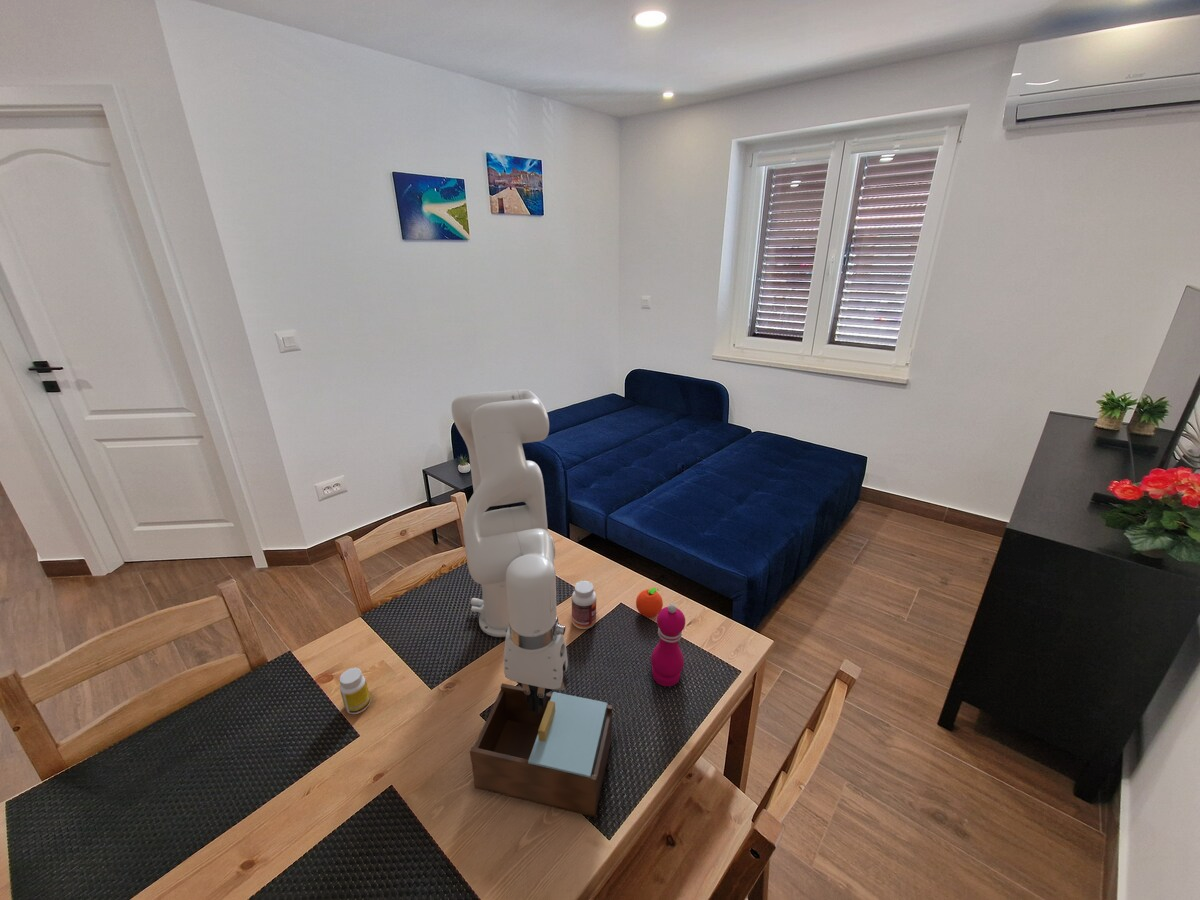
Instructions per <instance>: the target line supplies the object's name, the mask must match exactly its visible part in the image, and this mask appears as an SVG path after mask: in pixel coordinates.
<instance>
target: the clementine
mask: <svg viewBox="0 0 1200 900" xmlns="http://www.w3.org/2000/svg"><path fill="white" fill-rule="evenodd" d="M657 591H658V588H657V587H652V588H650V589H649V588H648V589H647V588H646V589H644V590H642V591H640V592H639V594H638V595H637V597H636V600H635V606H636V609H637V612H638V613H639V614H640V615H642V616H643V617H645V618H654V617H657V616H658V613H659V612H660V611H661V609H663V605H664V602H663V598H662V596H661V595H660V593H659V592H657Z"/></svg>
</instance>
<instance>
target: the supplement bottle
mask: <svg viewBox="0 0 1200 900" xmlns="http://www.w3.org/2000/svg"><path fill="white" fill-rule="evenodd" d="M339 684H340V685H339V692H340V694H341V698H342V702H343V705H344V710H345V712H346V713H347V714H349V715H358V714H361V713H362V712H364V711H366V710H367V708H368V707H369V706H370V705H371V696H370V693H369V688H368V685H367V680H366V678H365V676H364V675H363V673H362V670H361V669H360V668H358V667H350V668H347V669H346V670H345V671H343V672H342V673H341V675H340V676H339Z"/></svg>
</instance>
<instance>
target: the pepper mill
mask: <svg viewBox="0 0 1200 900" xmlns="http://www.w3.org/2000/svg"><path fill="white" fill-rule="evenodd" d="M656 625H657V627H658V628H657V629H658V630H657V635H658V637H659V642H658V643H657V644H656V646H655V647H654V648H653V650H652V652H651V656H650V664H651V667H652V668H651V669H652V670H651V676H652V678H653V680H654V682H656V683H657V684H658V685H660V686H663V687H673V686H675V685H677V684H678V683H679V681H680V679H681V673H682V671H683V668H684V665H685V658H684V654H683V651H682V650H681V647H680V645H679V641H680V640H681V638H682V635H683V630H684V629H685V626H686V617H685V615H684V613H683V611H681V610H680V608H678V607H677V606H676V605H675V604H673V603H671V604H668V606H665V607H662V609H661V611H660V612H659V613H658V615H656Z"/></svg>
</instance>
